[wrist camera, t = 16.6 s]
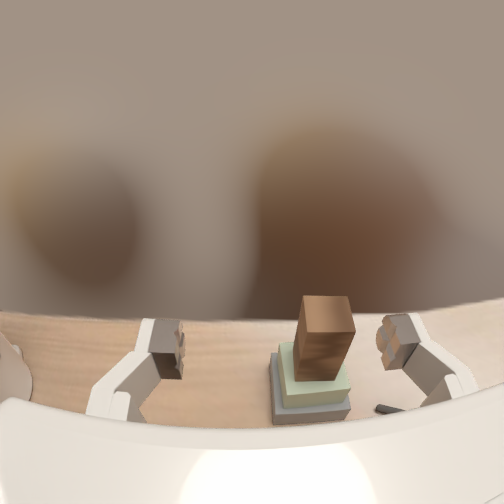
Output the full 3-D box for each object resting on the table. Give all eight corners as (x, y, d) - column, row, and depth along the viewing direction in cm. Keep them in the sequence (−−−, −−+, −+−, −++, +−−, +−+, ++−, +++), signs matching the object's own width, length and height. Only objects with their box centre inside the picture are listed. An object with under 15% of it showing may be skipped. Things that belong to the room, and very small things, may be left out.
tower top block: (283, 408, 37) (287, 395, 35) (276, 359, 44) (279, 342, 41) (342, 402, 38) (350, 388, 35) (330, 355, 44) (336, 338, 42)
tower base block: (272, 425, 39) (275, 414, 37) (269, 367, 47) (271, 352, 45) (343, 420, 39) (351, 408, 37) (332, 365, 47) (338, 350, 45)
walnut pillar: (294, 381, 36) (307, 332, 30) (292, 348, 40) (303, 295, 34) (334, 380, 36) (355, 331, 30) (329, 348, 40) (347, 296, 34)
